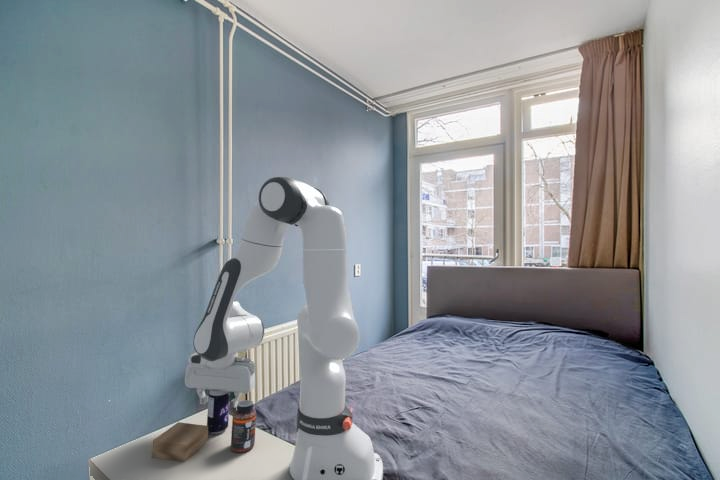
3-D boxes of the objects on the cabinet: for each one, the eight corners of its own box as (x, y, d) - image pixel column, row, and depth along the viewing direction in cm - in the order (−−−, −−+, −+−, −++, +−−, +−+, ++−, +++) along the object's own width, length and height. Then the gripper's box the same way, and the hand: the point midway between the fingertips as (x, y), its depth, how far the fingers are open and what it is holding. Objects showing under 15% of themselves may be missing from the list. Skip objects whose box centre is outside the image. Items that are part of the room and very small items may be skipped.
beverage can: (219, 437, 89) (222, 392, 90) (201, 434, 90) (204, 390, 91) (231, 426, 95) (234, 385, 95) (214, 423, 96) (217, 382, 97)
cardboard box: (207, 441, 87) (208, 425, 87) (184, 461, 78) (185, 444, 78) (177, 437, 88) (178, 422, 89) (151, 457, 80) (152, 440, 80)
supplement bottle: (254, 452, 83) (256, 407, 84) (229, 455, 81) (232, 409, 82) (254, 439, 89) (257, 397, 89) (231, 441, 87) (234, 399, 88)
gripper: (260, 355, 95) (257, 403, 95) (197, 350, 98) (194, 396, 98) (250, 362, 89) (247, 413, 88) (182, 356, 92) (179, 406, 91)
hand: (218, 404), depth 93 cm, fingers open, 8 cm apart
